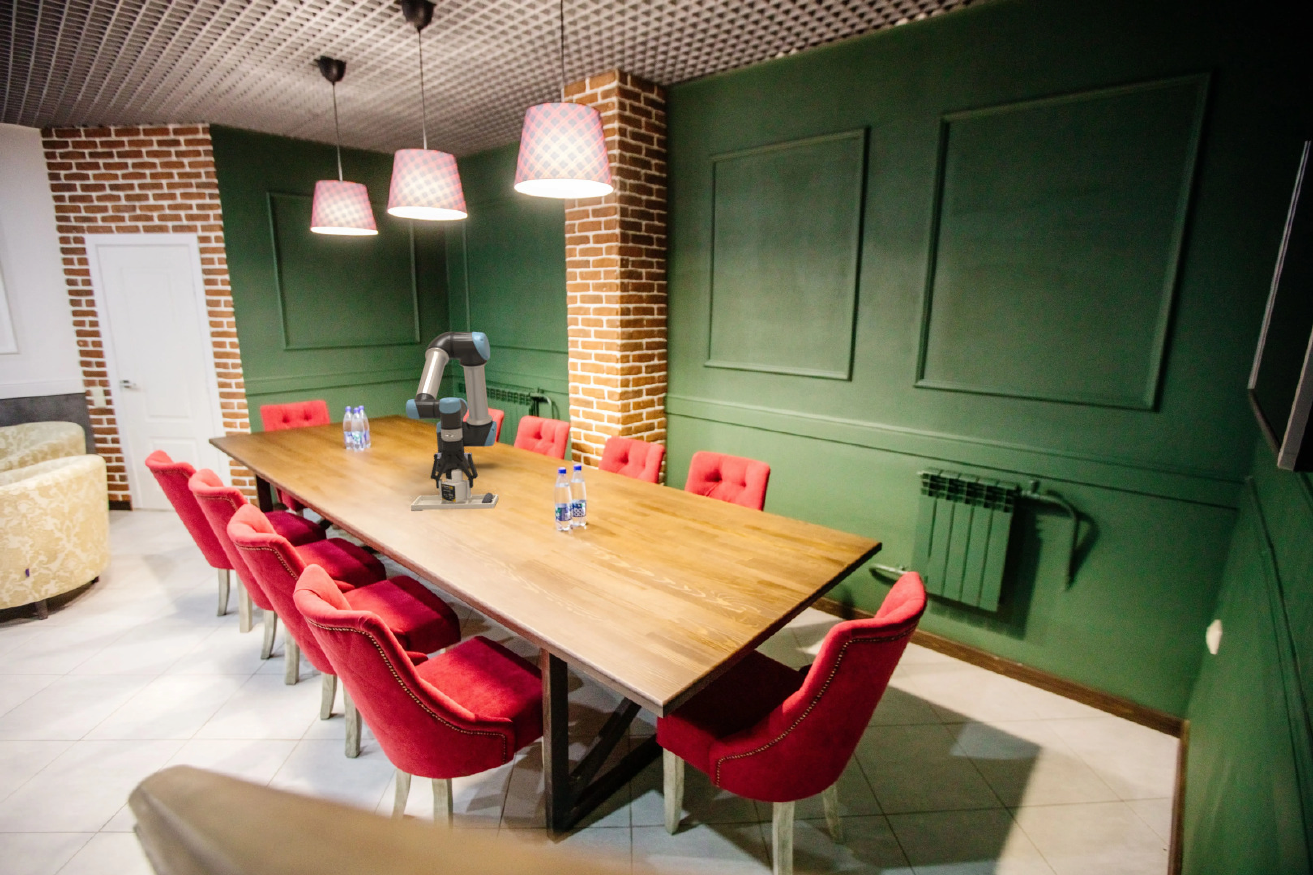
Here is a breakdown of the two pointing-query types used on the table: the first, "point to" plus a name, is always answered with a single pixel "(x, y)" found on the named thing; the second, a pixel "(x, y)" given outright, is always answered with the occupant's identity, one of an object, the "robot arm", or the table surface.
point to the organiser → (438, 503)
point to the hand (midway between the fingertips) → (455, 496)
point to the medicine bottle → (454, 486)
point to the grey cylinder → (487, 498)
